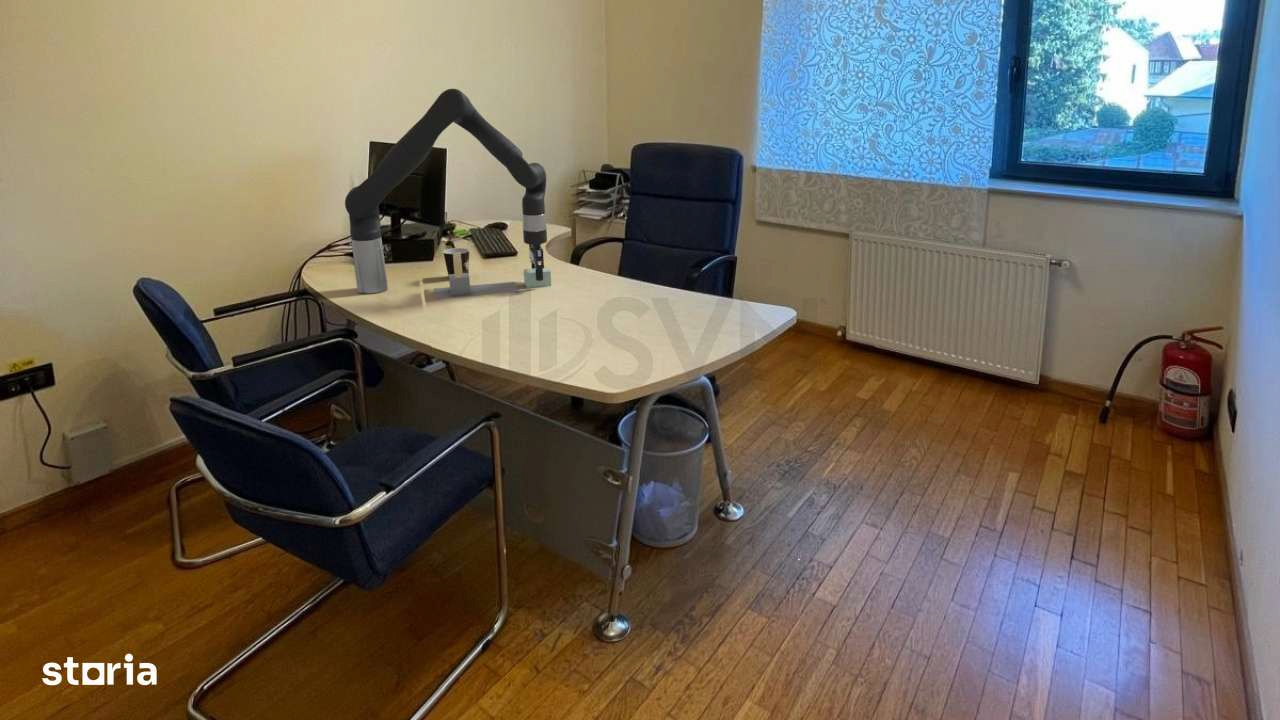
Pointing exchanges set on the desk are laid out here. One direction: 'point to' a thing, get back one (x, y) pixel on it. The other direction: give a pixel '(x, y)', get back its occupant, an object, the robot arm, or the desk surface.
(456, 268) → the t key
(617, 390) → the desk surface
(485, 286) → the base board
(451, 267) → the coffee mug
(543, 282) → the mint green block
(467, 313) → the desk surface
